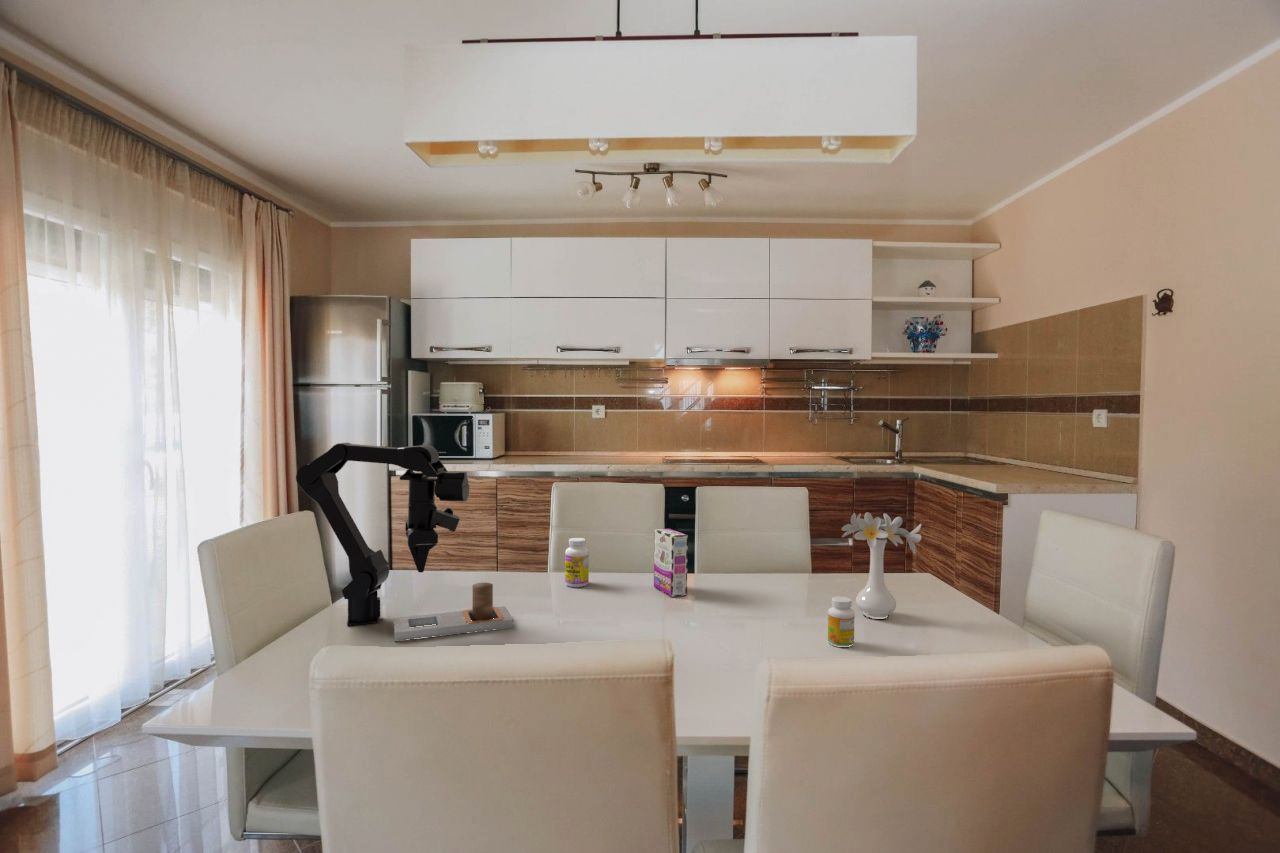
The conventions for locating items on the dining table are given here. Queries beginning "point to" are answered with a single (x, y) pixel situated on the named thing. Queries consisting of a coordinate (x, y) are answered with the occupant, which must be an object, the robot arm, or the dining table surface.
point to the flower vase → (878, 559)
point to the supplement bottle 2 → (841, 622)
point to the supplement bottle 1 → (576, 563)
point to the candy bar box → (670, 562)
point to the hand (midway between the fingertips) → (419, 567)
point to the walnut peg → (482, 601)
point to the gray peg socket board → (449, 624)
